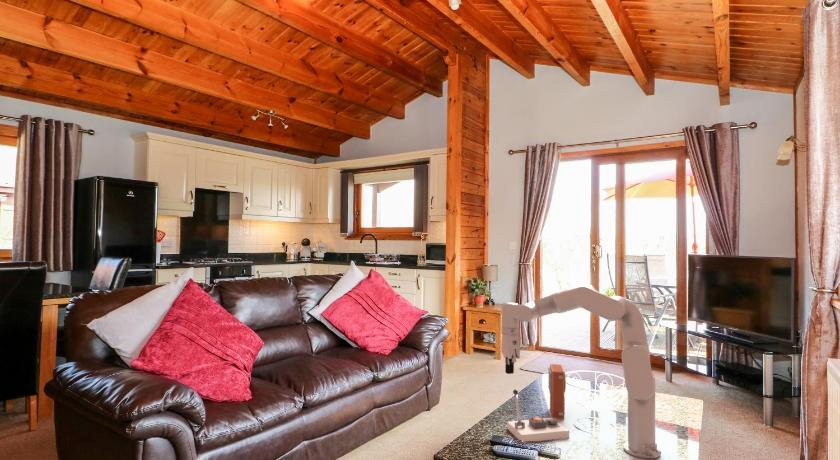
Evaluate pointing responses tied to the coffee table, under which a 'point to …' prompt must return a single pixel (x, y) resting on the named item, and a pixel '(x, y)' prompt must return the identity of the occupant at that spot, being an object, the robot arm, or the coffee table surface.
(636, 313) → the robot arm
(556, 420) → the rocker switch
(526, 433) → the switch board
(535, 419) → the push button
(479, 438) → the coffee table surface
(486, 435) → the coffee table surface
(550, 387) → the control panel
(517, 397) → the toggle lever
